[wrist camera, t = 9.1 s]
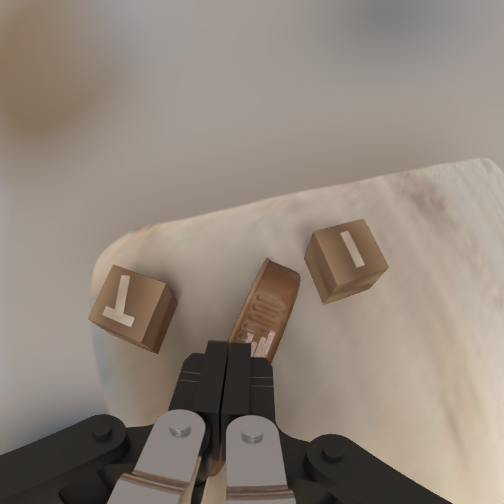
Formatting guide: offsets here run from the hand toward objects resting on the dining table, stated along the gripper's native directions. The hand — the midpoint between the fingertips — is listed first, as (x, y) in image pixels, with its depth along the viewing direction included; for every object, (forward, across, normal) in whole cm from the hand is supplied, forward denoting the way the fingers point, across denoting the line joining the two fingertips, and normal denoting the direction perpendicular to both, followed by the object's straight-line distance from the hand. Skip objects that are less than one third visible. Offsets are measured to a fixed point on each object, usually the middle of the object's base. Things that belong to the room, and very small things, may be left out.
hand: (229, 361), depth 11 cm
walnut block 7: (+13, +8, +6) cm, 16 cm away
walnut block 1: (+16, -8, +3) cm, 18 cm away
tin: (+10, 0, +9) cm, 14 cm away
